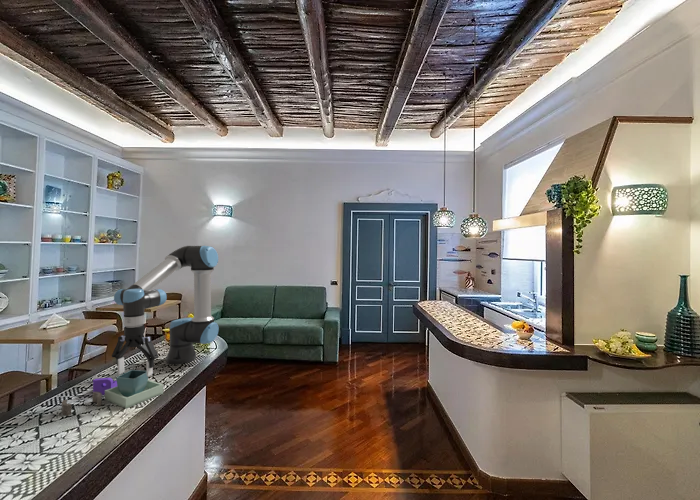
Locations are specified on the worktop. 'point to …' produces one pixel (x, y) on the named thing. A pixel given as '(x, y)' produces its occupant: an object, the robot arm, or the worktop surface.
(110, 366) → the worktop surface
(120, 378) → the flower pot
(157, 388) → the pale green square tray
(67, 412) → the holder
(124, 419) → the worktop surface
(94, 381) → the bracket
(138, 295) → the robot arm
